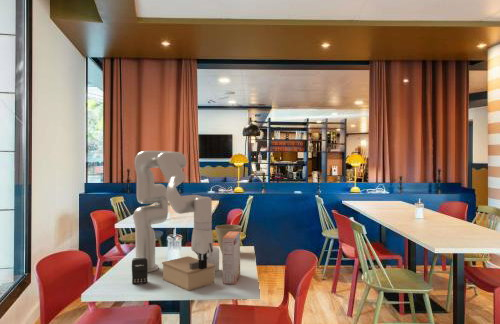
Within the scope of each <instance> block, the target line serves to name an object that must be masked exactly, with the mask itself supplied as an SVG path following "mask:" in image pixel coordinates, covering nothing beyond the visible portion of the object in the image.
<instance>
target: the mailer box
mask: <svg viewBox="0 0 500 324" xmlns="http://www.w3.org/2000/svg"><path fill="white" fill-rule="evenodd" d="M162 280H163V281H165V282H167V283H170V284H171V285H174V286H175V287H176V286H177V287H178V288H180V289H182V290H185V291H187V292H189V291H193V290H196V289H200V288H203V287H205V286H209V285H213V284H215V271H214V267H213V268H209V269H205V270H202V271H198V272H194V273H190V274H186V273H184V272H181V271H179V270H176V269H174V268H171V267H169V266H166V265H164V264H162Z"/></svg>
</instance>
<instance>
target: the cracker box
mask: <svg viewBox="0 0 500 324" xmlns="http://www.w3.org/2000/svg"><path fill="white" fill-rule="evenodd" d="M221 255H222V260H221V261H222V263H221V264H222V284H223V285H224V284H225V285H235V284H236V283H237V281H238V279H239V277H240V275H241V232H233V231H230V232H228V233H227V234H226V235H225V236H224V237H223V238H222V252H221Z"/></svg>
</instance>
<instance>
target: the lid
mask: <svg viewBox="0 0 500 324" xmlns="http://www.w3.org/2000/svg"><path fill="white" fill-rule="evenodd" d="M161 264H162V265H163V264H164V265H166V266H169V267H171V268H174V269H176V270H179V271H181V272H184V273H186V274H190V273H194V272H198V271H202V270H205V269H209V268H213V267H215V265H213V264H210V263H207V268H205V269H202V270H201V269H199V259H198V258H195V257H192V256H189V255H187V256H182V257H179V258H175V259H169V260H166V261H163V262H161Z"/></svg>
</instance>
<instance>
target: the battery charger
mask: <svg viewBox="0 0 500 324" xmlns="http://www.w3.org/2000/svg"><path fill="white" fill-rule="evenodd" d="M148 276H149V272H148V259H147V258H146V257H136V256H135V257H134V258H132V260H131V283H132V285H143V284H147V283H148V282H149V281H148V280H149V279H148Z"/></svg>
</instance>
